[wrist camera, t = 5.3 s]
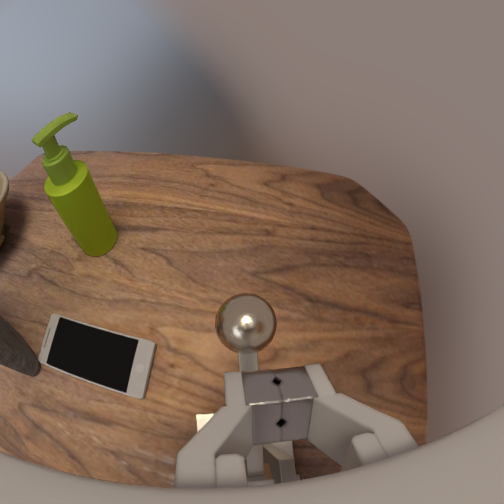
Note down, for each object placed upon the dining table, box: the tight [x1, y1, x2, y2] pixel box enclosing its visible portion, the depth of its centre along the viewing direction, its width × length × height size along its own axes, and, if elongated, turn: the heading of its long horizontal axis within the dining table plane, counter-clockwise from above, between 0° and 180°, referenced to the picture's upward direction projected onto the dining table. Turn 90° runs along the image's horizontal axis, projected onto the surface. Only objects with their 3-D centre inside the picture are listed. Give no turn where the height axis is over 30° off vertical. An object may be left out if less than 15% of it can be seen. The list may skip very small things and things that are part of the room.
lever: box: [215, 293, 277, 487], centre depth 17 cm, size 15×4×4 cm, turn 5°
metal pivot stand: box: [196, 413, 301, 484], centre depth 21 cm, size 12×10×15 cm
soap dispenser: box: [32, 113, 117, 257], centre depth 32 cm, size 6×7×20 cm
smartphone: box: [38, 313, 156, 399], centre depth 31 cm, size 7×16×1 cm, turn 82°
